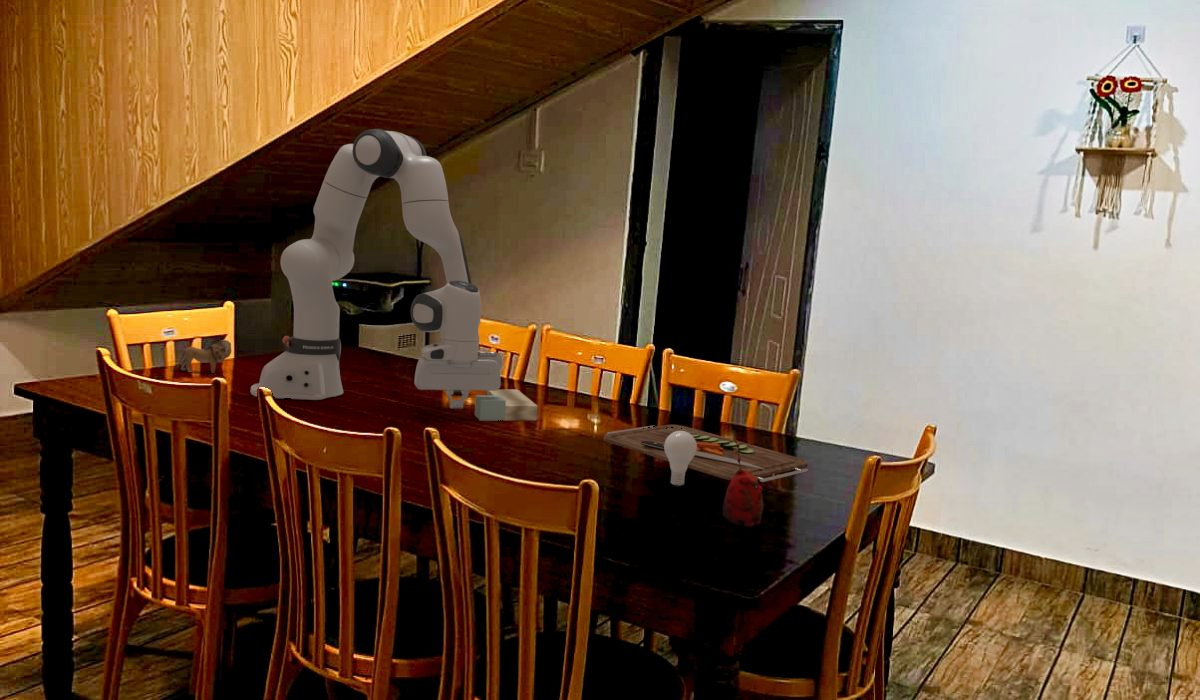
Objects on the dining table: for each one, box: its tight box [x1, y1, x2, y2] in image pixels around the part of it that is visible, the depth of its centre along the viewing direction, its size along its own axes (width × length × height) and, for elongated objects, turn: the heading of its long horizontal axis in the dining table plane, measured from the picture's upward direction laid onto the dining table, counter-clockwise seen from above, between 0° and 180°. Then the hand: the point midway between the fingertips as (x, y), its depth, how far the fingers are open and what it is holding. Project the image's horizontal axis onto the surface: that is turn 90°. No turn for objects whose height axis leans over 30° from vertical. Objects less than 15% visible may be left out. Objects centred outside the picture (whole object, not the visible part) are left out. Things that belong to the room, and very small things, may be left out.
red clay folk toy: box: [722, 437, 764, 528], centre depth 182 cm, size 8×7×15 cm
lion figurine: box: [172, 339, 232, 374], centre depth 277 cm, size 15×5×9 cm, turn 105°
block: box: [474, 394, 506, 422], centre depth 249 cm, size 6×6×5 cm
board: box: [486, 388, 539, 421], centre depth 258 cm, size 8×20×4 cm, turn 19°
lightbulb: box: [664, 431, 697, 488], centre depth 201 cm, size 6×6×11 cm
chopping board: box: [603, 424, 809, 483], centre depth 231 cm, size 45×27×3 cm, turn 45°
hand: (456, 408), depth 246 cm, fingers closed
